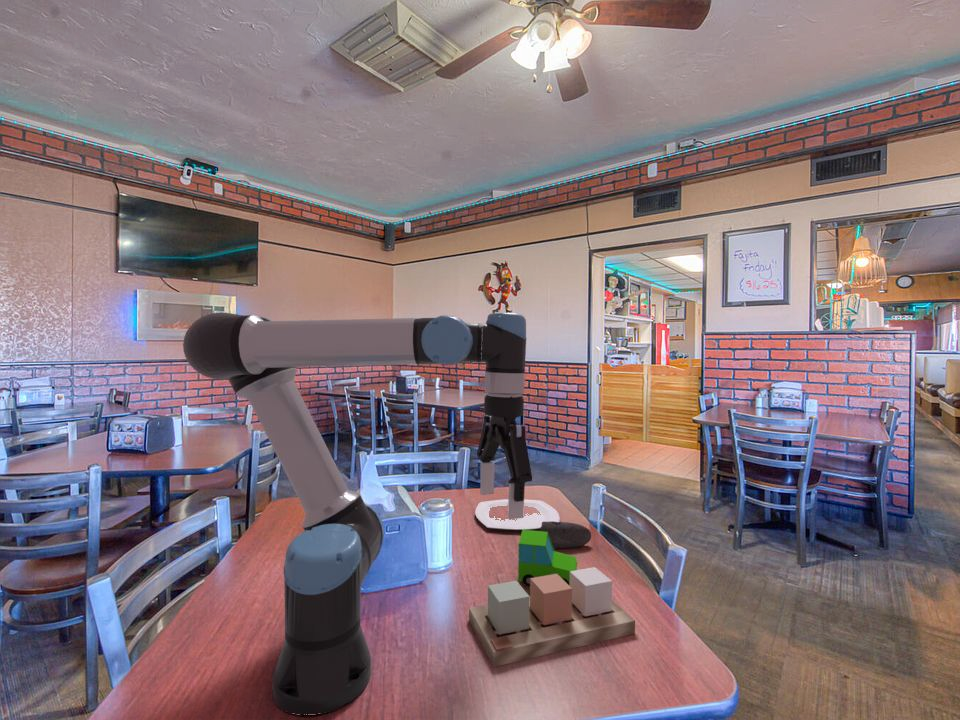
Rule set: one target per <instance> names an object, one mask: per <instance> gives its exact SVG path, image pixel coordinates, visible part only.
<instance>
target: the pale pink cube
mask: <svg viewBox="0 0 960 720" xmlns="http://www.w3.org/2000/svg"><path fill="white" fill-rule="evenodd" d="M570 587H571V588H572V603H573V604H574V605H575V606H576V607H577V608H578V609H577V610H578V612H580V613H581V614H582V615H583V616H584V617H589V616H590V617H591V616H593V615H598V614H603V613H604V612H609V611H612V601H613V595H612V594H613V580H612V579H610V578H609V577H608V576H606V575H605V574H604V573H603V572H602V571H600V570H599V569H598V568H596V567H595V566H593V567H588V568H581V569H577V570H575V571H570Z"/></svg>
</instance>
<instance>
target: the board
mask: <svg viewBox="0 0 960 720" xmlns="http://www.w3.org/2000/svg"><path fill="white" fill-rule="evenodd" d="M578 610H579V609H578V608H577V607H576V606H575V605H574V604H573V603H572V619H571V620H566V621H563V622H564V623H559V624H555V625H550V626H545V627H543V626H542V625H541V624H540V623H539V621H538V620H537V619H538V618H537V616H536V615H535V614H534V612H533V611H532V610H531V609H530V597H529V629H524V630H522V631H523V632H522V631H521V632H517V633H513V634H509V635H508V634H507V635H502V636H501V635H500V636H498V637H497V635H496V633H495V632H494V630H493V628H495V627H494V626H493V624H492V623H491V621H490V619H489V618H488V603H487V604H481V605H477V606H471V607H468V621H469V623H470V625H471V626H472V628H473V631H474V632H475V634H476V636H477V638H478V640H479V642H480V644H481V646H482V648H483V649H484V651H485V653H486V655H487V657H488V658H489V661H490V662H491V665H492V667H495V668H496V667H499V666H502V665H508V664H511V663H515V662H516V663H517V662H519V661H526V660H529V659H533V658H537V657H542V656H546V655H550V654H554V653H558V652H563V651H566V650H570V649H576V648H578V647H579V648H580V647H583V646H587V645H588V646H589V645H592V644H596V643H600V642H605V641H609V640H612V639H618V638H621V637H627V636H630V635H634V634H636V619H634V618H633V617H632V616H630V614H629V613H627V612H626V611H625V610H624V608H623V609H622V607H620V606H619V605H618V604H617V602H614V601H613V600H612V611H609V612H604V613H602V614H601V615H598V616H592V617H591V616H590V617H587V618H584V617H583V616H582V615H581V614H580V613H579V611H578ZM536 618H537V619H536Z"/></svg>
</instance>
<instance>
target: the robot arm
mask: <svg viewBox="0 0 960 720" xmlns="http://www.w3.org/2000/svg"><path fill="white" fill-rule="evenodd" d="M183 337H184V338H183V341H182V342H183V344H182V347H183V353H184V357H185V359H186V361H187V362H188V364H189V365H190V367H192V368H193V370H194V371H195V372H197V373H199V374H200V375H202V376H204V377H206V378H208V379H209V378H210V379H213V380H219V381H220V380H221V381H222V380H223V381H224V380H225V381H226V380H228V381H229V383H230V386H231V387H232V389H233V391H234V394H235V395H236V396H237V397H238V398H242V399H245V400H247V401H249V403H250V405H251V407H252V409H253V411H254V413H255V414H256V415H255V416H256V417H257V420H258V421H259V423H260V425H261V427H262V429H263V431H264V433H265V435H266V437H267V439H268V440H269V443H270V444H271V447H272V449H273V451H274V453H275V455H276V456H277V458H278V461H279V463H280V465H281V467H282V469H283V470H284V472H285V475H286V477H287V478H288V480H289V482H290V485H291V486H292V488H293V490H294V492H295V494H296V496H297V498H298V500H299V503H300V504H301V507H302V508H303V510H304V513H305V514H304V518H303V521H302V524H301V525H302V528H303V530H304V531H303V532H301V533H299V534H298V535H297V536H296V537H294V538H293V539H292V541H291V542H290V543H289V544H288V546H287V548H286V551H285V559H284V566H283V569H282V570H283V578H284V642H283V644H282V647H281V650H280V653H279V657H278V659H277V662H276V666H275V668H274V672H273V674H272V698H274V699H273V701H274V703H275V704H277V705H278V706H279V707H280V708H281V709H280V708H279V707H278V706H277V705H276V706H277V707H278V708H279V709H280V710H282V711H283V710H284V711H283V712H285V711H287V712H289V713H288V714H290V713H295V714H300V715H304V714H305V715H306V714H307V715H308V714H318V713H325V712H328V713H330V712H329V711H331V712H333V711H332V710H334V711H336V710H335V709H337V708H339V709H340V707H341V708H342V706H343V707H344V705H345V704H346V705H348V704H350V703H351V702H353V701H354V700H355V699H356V698H358V697H359V695H361V693H363V691H364V690H365V689H366V687H367V685H368V683H369V682H370V679H371V676H372V675H371V674H372V656H371V652H370V649H369V645H368V643H367V641H366V638H365V635H364V632H363V629H362V626H361V601H362V600H361V597H362V596H361V591H362V584H363V583H364V580H365V579H366V577H367V575H368V573H369V571H370V569H371V567H372V566H373V563H374V562H375V560H376V559H377V558H378V556H379V554H380V552H381V549H382V546H383V542H384V536H385V528H384V523H383V520H382V518H381V515H380V514H379V513H378V512H377V510H376V509H375V508H374V507H372V506H370V505H367V504H366V503H365V502H364V500H363V498H362V496H361V494H360V492H358V491H355V490H351V489H349V488H348V486H347V484H346V482H345V480H344V479H343V476H342V474H341V472H340V470H339V468H338V466H337V464H336V463H335V460H334V459H333V456H332V454H331V452H330V450H329V448H328V446H327V444H326V442H325V440H324V439H323V436H322V434H321V433H320V430H319V429H318V426H317V425H316V423H315V421H314V419H313V416H312V414H311V413H310V410H309V408H308V407H307V404H306V403H305V400H304V399H303V397H302V394H301V393H300V391H299V389H298V387H297V385H296V382H295V378H296V375H297V372H298V368H309V367H310V368H312V367H313V368H314V367H316V368H317V367H319V368H320V367H349V366H350V367H352V366H353V367H357V366H388V365H389V366H390V365H391V366H393V365H394V366H395V365H397V366H398V365H441V366H453V365H456V364H459V363H478V364H481V363H485V371H484V392H485V393H487V394H486V395H485V396H484V400H483V401H484V402H483V403H484V404H483V413H484V416H483V426H482V429H481V435H480V440H479V443H478V447H477V451H476V456H477V457H479V460H480V488H479V489H480V490H479V491H480V493H479V494H480V496H487V495H494V494H495V471H496V470H495V469H496V468H495V467H496V463H495V461H497V460H496V454H497V452H498V450H499V447H500V449H502V450H503V452H504V455H505V459H506V463H507V467H508V472H509V475H510V479H508V481H507V482H508V499H509V501H508V518H509V519H518V518H523V516H524V499H525V489H526V487H525V484H526V483H530V482H532V481H533V474H532V470H531V464H530V458H529V452H528V445H527V441H526V440H527V439H526V426H525V425H524V424H517V418H521V417H522V416H523V415H524V407H525V406H524V402H525V399H524V398H523V396H522V395H523V394H524V393H525V382H526V380H527V378H526V377H525V374H526V373H525V372H526V370H525V369H526V354H527V320H526V318H525V316H524V315H523V314H520V313H513V312H494V313H489V314H488V315H487V318H486V322H482V323H473V322H465V321H464V320H462V319H461V318H459V317H457V316H454V315H440V316H437V317H422V318H421V317H420V318H415V317H408V318H407V317H406V318H405V317H404V318H403V317H402V318H362V319H359V318H358V319H357V318H356V319H354V318H353V319H315V320H314V319H313V320H312V319H309V320H270V319H269V318H266V317H263V316H259V315H256V314H255V315H254V314H253V315H252V314H251V315H249V314H248V315H242V314H237V313H230V312H213V313H209V314H205V315H204V316H201V317H199V318H197V320H195V321H194V322H192V324H190V326H189V327H188V329H187V330H186V332H185V334H184V336H183ZM349 702H350V703H349ZM347 703H348V704H347ZM346 705H345V706H346ZM337 710H338V709H337ZM287 712H286V713H287ZM325 714H326V713H325Z"/></svg>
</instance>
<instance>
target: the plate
mask: <svg viewBox="0 0 960 720" xmlns="http://www.w3.org/2000/svg"><path fill="white" fill-rule="evenodd" d="M508 501H509V498H507V499H506V498H505V499H494V500H487V501H480V502H479V503H478V505H477V506H476V508H475V511H474V515H475V516H476V519H478V521H479V522H480V523H481V524H482V525H483V526H484V527H486V528H487V529H493V530H507V531H522V530H532V531H534V530H540V527H541V526H542V522H552V521H554V522H561V521H560V520H561V518H560V514H559V512H558V511H557V510H556V509H555V508H554V507H552V506H551V505H550V504H548V503H546V502H545V501H543V500H539V499H538V500H537V499H536V500H535V499H525V498H524V506H528V507H534V508H536V509H537V510H538V511H539V512H540V514H541V515H540V514H539V513H538V514H539V515H538V514H537V513H533V514H532V515H529V514H528V513H527V514H528V515H529V516H528V515H527V514H525V515H526V516H524V517H523V518H518V519H517V520H516V519H515V520H516V521H515V520H512V519H511V520H509V519H505V521H504V520H501V518H497V519H499V520H495V519H496V518H495V516H494V518H490V517H489V511H490V508H492V507H497V506H507V505H508ZM500 520H501V521H500Z"/></svg>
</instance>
